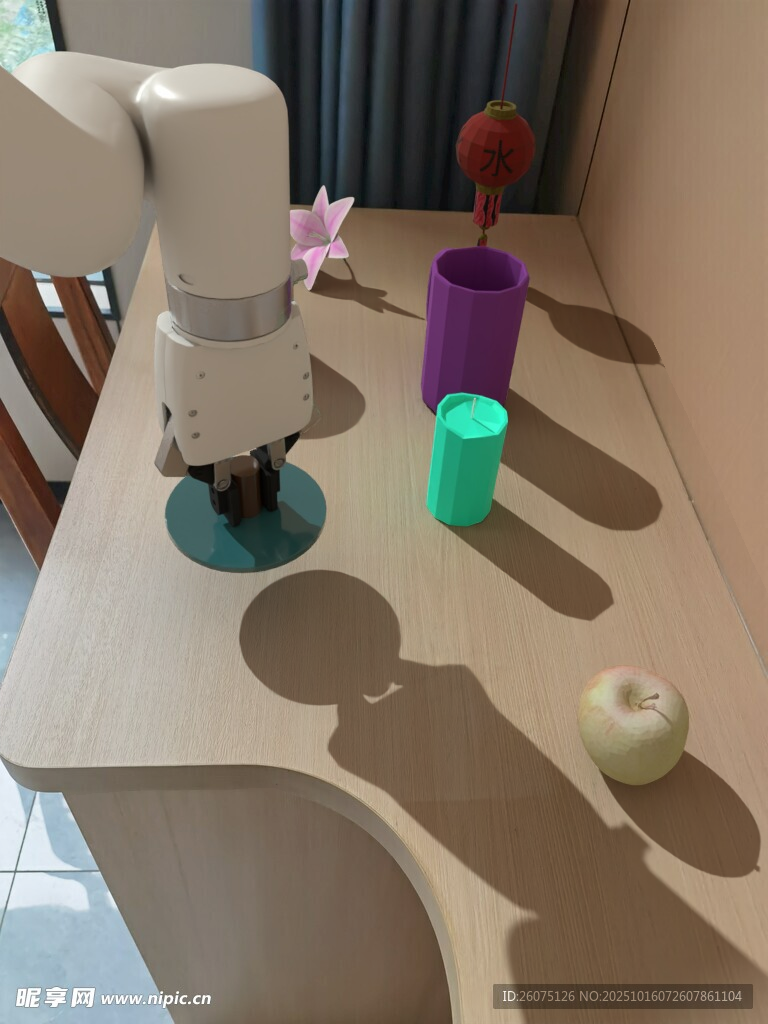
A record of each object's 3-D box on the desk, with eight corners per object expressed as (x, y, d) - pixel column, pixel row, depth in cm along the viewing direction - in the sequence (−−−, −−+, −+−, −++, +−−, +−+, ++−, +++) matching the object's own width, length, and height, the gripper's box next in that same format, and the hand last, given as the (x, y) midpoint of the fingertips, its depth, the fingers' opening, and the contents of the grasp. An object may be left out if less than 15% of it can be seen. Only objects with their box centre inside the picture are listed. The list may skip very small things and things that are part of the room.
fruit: (694, 768, 56) (735, 708, 50) (615, 818, 53) (649, 760, 48) (621, 686, 61) (651, 622, 55) (545, 728, 58) (568, 665, 52)
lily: (287, 249, 108) (257, 199, 100) (368, 216, 106) (344, 162, 98) (302, 318, 103) (271, 271, 95) (388, 285, 101) (364, 234, 93)
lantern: (515, 287, 102) (565, 19, 81) (441, 281, 102) (471, 12, 81) (513, 252, 108) (557, -5, 87) (443, 246, 109) (471, -11, 87)
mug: (436, 431, 81) (452, 298, 70) (389, 346, 91) (397, 220, 81) (519, 417, 83) (547, 286, 73) (464, 336, 93) (481, 211, 83)
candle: (412, 499, 74) (422, 394, 65) (458, 472, 77) (473, 368, 68) (458, 536, 71) (476, 431, 62) (504, 506, 74) (526, 402, 65)
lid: (157, 580, 58) (146, 526, 54) (175, 466, 67) (167, 412, 63) (328, 577, 59) (329, 525, 55) (324, 465, 68) (325, 413, 64)
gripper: (311, 241, 55) (311, 446, 68) (78, 299, 48) (128, 515, 61) (372, 291, 51) (359, 499, 64) (127, 363, 44) (169, 580, 57)
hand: (246, 505), depth 62 cm, fingers closed on lid, 2 cm apart
